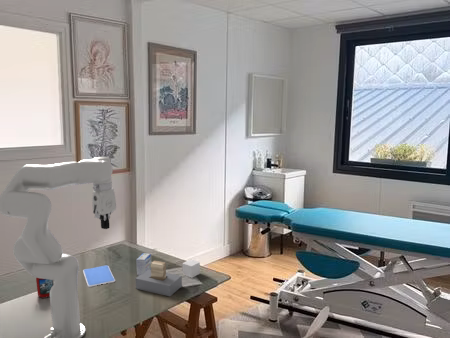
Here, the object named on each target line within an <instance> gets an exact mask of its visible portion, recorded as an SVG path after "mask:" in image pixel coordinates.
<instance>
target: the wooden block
mask: <svg viewBox="0 0 450 338" xmlns="http://www.w3.org/2000/svg"><path fill="white" fill-rule="evenodd" d="M166 273H167V264H166V261H165V262H164V261H159V260H153V261H151V278H153V279H157V280H162V281H163V280H165V279H166Z"/></svg>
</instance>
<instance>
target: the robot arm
mask: <svg viewBox="0 0 450 338" xmlns="http://www.w3.org/2000/svg"><path fill="white" fill-rule="evenodd" d="M113 170H114V169H113V165H112V163H111V158H110V157H108V156H96V157H93V158H89V159H81V160H80V161H78V162H77V161H64V162H60V163H59V162H58V163H54V164H53V163H52V164H24V165H23V166H22V167H21V168H19V169H18V171H16V173H15V174H14V175H13V176H12V177H11V178H10V181H9V182H8V184H7V185H6V186H5V188H4V190H3V191H2V192H1V194H0V214H1V215H2V216H4V217H9V218H17V219H26V223H25V225H24V227H23V229H22V231H21V235H20V236H19V237H17V239H16V241H15V242H14V245H13V249H12V250H13V251H12V253H13V255H14V258H15V261H17V262H18V264H19V265H20V266H21V267H22V268H23V269H24V270H25V272H27V273H28V274H29V275H30V276H32V277H34V278H35V279H36V278H42V279H49V280H53V283H54V285H53V286H52V288H51V290H50V296H49V300H50V301H49V302H50V312H51V313H50V314H51V321H52V322H51V323H52V327H50V332H49V333H48V335H45V336H44V337H43V338H82V337H83V336H85V334H86V326H85V325H84V324H83V323H81V317H80V316H81V314H80V303H79V291H78V276H79V267H80V266H79V264H80V263H79V260H78V258H77V257H75V256H74V255H72V254H69V253H63V252H64V251H63V247H62V244H61V243H60V242H59V240H58V239H57V238H56V236H55V235H54V234H53V233H52V231H51V230H50V228H49V220H50V217H51V211H52V202H51V199H50V197H49V196H47V195H46V194H43V193H41V192H35V191H38V190H39V191H52V190H56V189H61V188H65V187H66V188H67V187H71V186H77V185H84V184H91V183H92V185H93V186H92V189H93V192H92V198H91V199H92V200H91V201H92V213H93V214H94V218H95V219H99V220H100V228H101V230H102V229H103V230H108V229H110V218H111V214H112V213H114V211H116V210H117V201H116V200H117V199H116V194H115V193H116V192H115V189H114V188H113V183H112V182H113V181H112V180H113V179H112V178H113V177H112V175H113V172H114V171H113ZM30 190H35V191H34V192H33V191H30Z"/></svg>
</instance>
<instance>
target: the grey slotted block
mask: <svg viewBox="0 0 450 338" xmlns="http://www.w3.org/2000/svg"><path fill="white" fill-rule="evenodd" d="M182 279H183V277H182V275H178V274H175V273H168V272H166V279H165V280H163V281H162V280H157V279H153V278H151V270H150V269H148V270H147V271H145V272H144V273H142V274H141V275H140V276H136V277H135V289H137V290H141V291H145V292H150V293H153V294H158V295H162V296H167V297H171V296H172V295H173V294H174V293H176V292H177V291H178V290H179V289H180V288H182V287H183V281H182Z"/></svg>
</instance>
